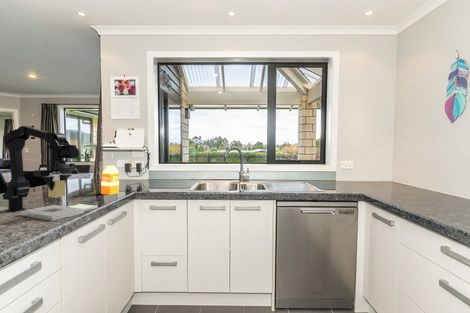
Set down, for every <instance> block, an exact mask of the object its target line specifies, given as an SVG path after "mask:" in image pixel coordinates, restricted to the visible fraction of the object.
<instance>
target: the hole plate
mask: <svg viewBox="0 0 470 313" xmlns="http://www.w3.org/2000/svg"><path fill="white" fill-rule="evenodd" d="M84 213H85V212H84V209H79V208H72V207H68V206H65V205H58V204H52V205H46V206H40V207H36V208H35V207H34V208H29V209H25V210H20V216H23V217H29V218H34V219H40V220H45V221H51V222H52V221H57V220H60V219H65V218H69V217H73V216H76V215H81V214H84Z"/></svg>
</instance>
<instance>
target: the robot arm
mask: <svg viewBox="0 0 470 313" xmlns="http://www.w3.org/2000/svg"><path fill="white" fill-rule="evenodd" d="M30 137H35V138H38V139H41V140H44V142H46V143H47V144H49V145H48V146H46V147H45V149H46V150H49V160H47V162H48V163H49V168H48V169H36V170H34V171H33V176H32V177H40V178H42V179H43V180H44V182H45V183H46V185H47V186H48V187H49V189H50V190H53V180H54V178H55V176H53V175H59V180H65V184H66V183H67V181H68V179H69V178H70V177H72V176H73V175H77V174H79V171H78V168H76V164H75V163H73V162H72V163H71V162H70V163H69V164H67V160H65V159H69V160H72V159H73V160H77V159H78V157H79V156H80V151H79V149H78V148H77V145H76V144H71V143H70V141H69V140H68V138H67V136H66V134H65V133H63V132H62V133H61V132H49V131H46V130H42V129H38V128H34V127H32V126H27V125H26V126H25V125H22V126H19V127H18V128H16V129H13V130H10V131H9V132H6V133H5V134H4V135H3V138H2V139H3V144H4V147H5V148H6V149H7V150H8V151H9V152H8V153H9V163H10V164H9V165H10V177H11V179H10V181H9V182H8V183H7V190H6V191H5V192H4V193H3V194H2V199H3V200H7V207H8V208H7V209H4V211H5V212H11V213H14V212H18V211H24V210H27V208H25V207H24V198H27V197H28V194H29V193H30V189H31V187H30V186H31V185H30V184H31V183H30V181H29V180H26V179H25V175H24V174H25V173H24V162H23V148H25V146H26V141H27V140H29V139H30Z"/></svg>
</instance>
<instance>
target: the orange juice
mask: <svg viewBox="0 0 470 313" xmlns="http://www.w3.org/2000/svg"><path fill="white" fill-rule="evenodd" d="M119 180H120V172H119V171H118V169H117V168H116V166H115V165H107V166H105V168H104V169H103V170H102V173H101V182H100V183H101V186H100V187H101V190H100V191H101V195H115V194H119V193H120V191H119V190H120V186H119V185H120V181H119Z"/></svg>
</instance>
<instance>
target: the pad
mask: <svg viewBox="0 0 470 313" xmlns="http://www.w3.org/2000/svg"><path fill="white" fill-rule="evenodd" d="M67 207H72V208H79V209H84V211H85V212H86V211H89V210H93V209H97V206H96V205H91V204H82V203H80V204H79V203H78V204H75V205H69V206H67Z"/></svg>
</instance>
